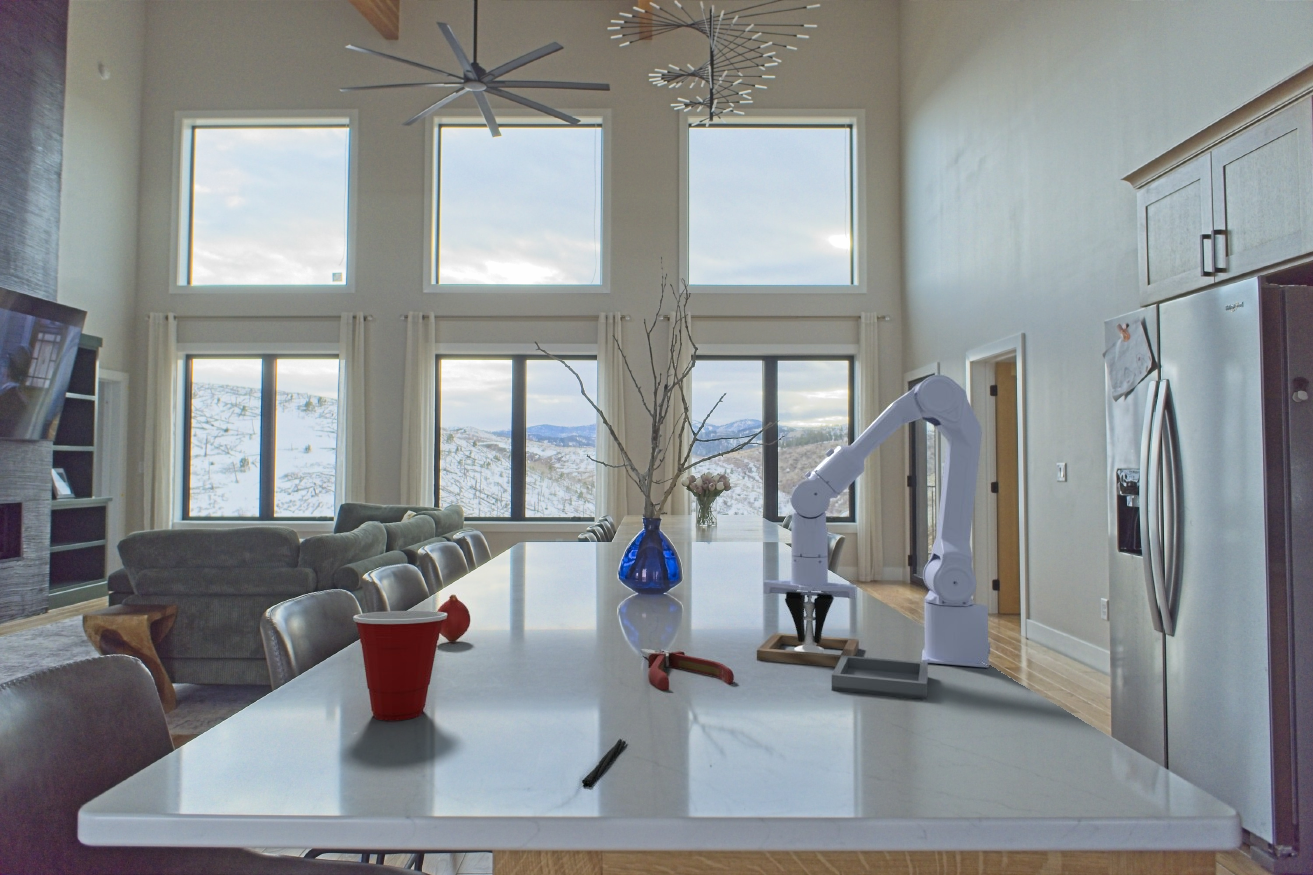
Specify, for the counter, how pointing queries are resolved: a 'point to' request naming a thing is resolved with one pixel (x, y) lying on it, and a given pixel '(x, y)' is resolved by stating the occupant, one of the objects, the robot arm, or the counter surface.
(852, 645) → the brown square frame
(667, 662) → the pliers
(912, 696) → the tray
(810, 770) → the counter surface
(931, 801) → the counter surface
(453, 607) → the onion
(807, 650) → the chess piece
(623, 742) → the electrical cable
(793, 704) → the counter surface
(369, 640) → the plastic cup
